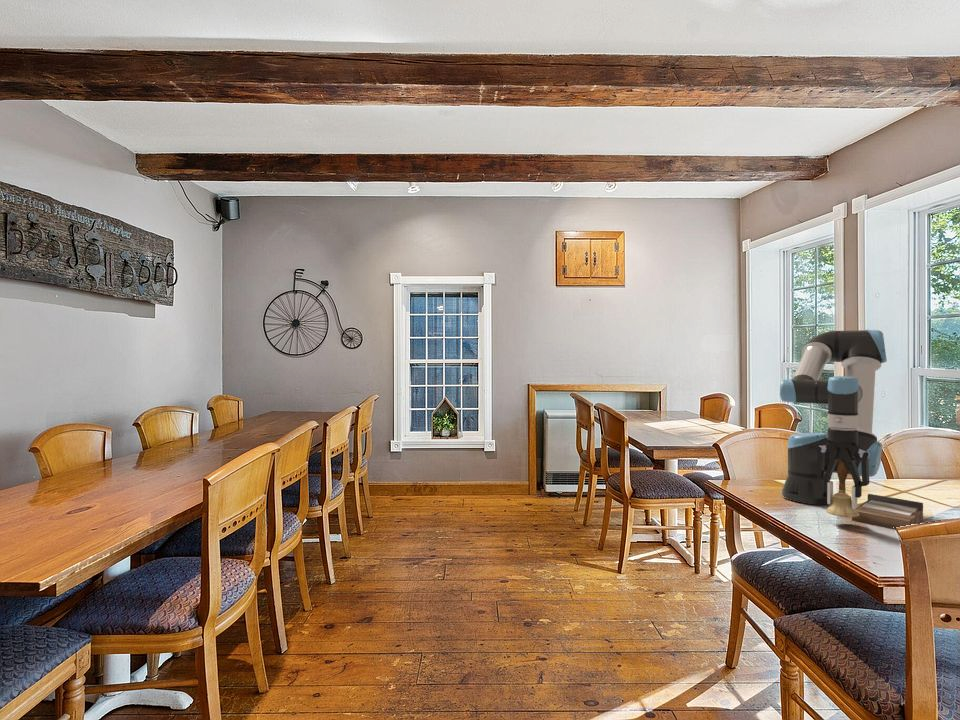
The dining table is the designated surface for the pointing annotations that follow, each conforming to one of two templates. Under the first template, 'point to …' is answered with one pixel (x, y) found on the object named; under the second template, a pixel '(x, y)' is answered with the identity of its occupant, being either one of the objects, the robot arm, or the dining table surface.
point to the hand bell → (842, 496)
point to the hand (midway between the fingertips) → (842, 505)
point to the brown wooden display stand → (889, 511)
